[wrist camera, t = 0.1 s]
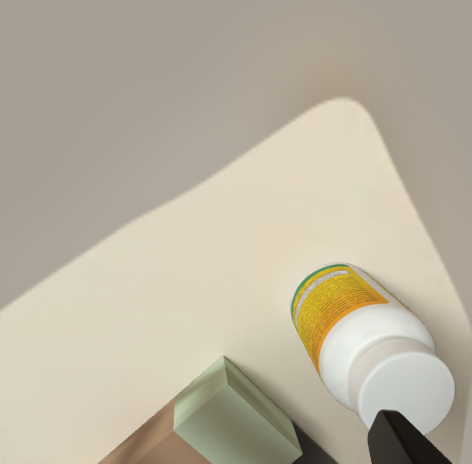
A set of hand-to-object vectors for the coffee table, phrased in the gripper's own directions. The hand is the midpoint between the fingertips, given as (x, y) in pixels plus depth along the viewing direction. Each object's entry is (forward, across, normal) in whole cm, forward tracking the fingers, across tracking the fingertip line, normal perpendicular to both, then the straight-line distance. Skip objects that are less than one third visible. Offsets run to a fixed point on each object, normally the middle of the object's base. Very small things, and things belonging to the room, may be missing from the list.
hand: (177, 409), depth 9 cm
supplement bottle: (+14, -9, +7) cm, 18 cm away
